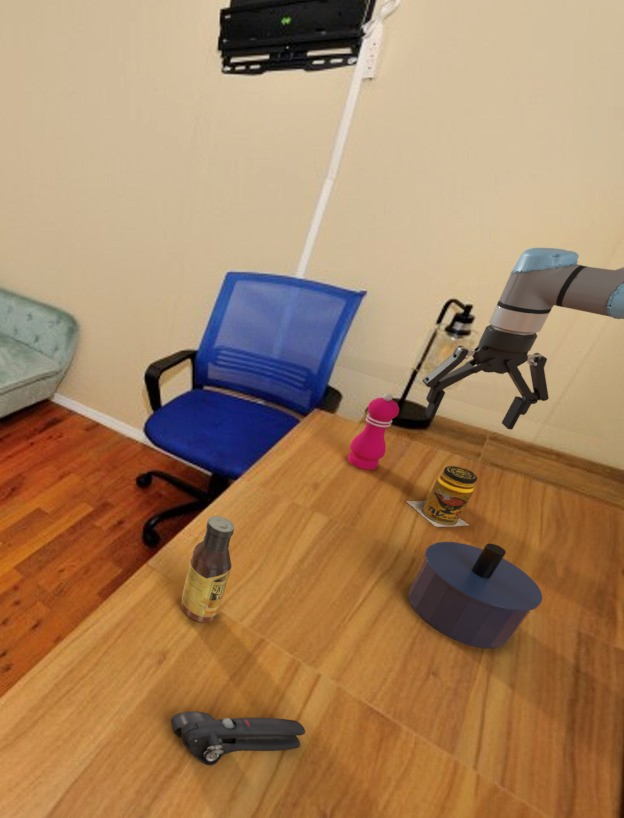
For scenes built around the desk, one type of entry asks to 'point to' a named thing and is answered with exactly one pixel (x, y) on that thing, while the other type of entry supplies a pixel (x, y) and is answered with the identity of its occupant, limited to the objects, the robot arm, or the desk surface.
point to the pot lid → (483, 575)
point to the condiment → (448, 497)
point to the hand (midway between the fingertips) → (467, 421)
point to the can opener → (233, 734)
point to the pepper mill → (373, 433)
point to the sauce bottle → (208, 572)
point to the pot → (461, 613)
